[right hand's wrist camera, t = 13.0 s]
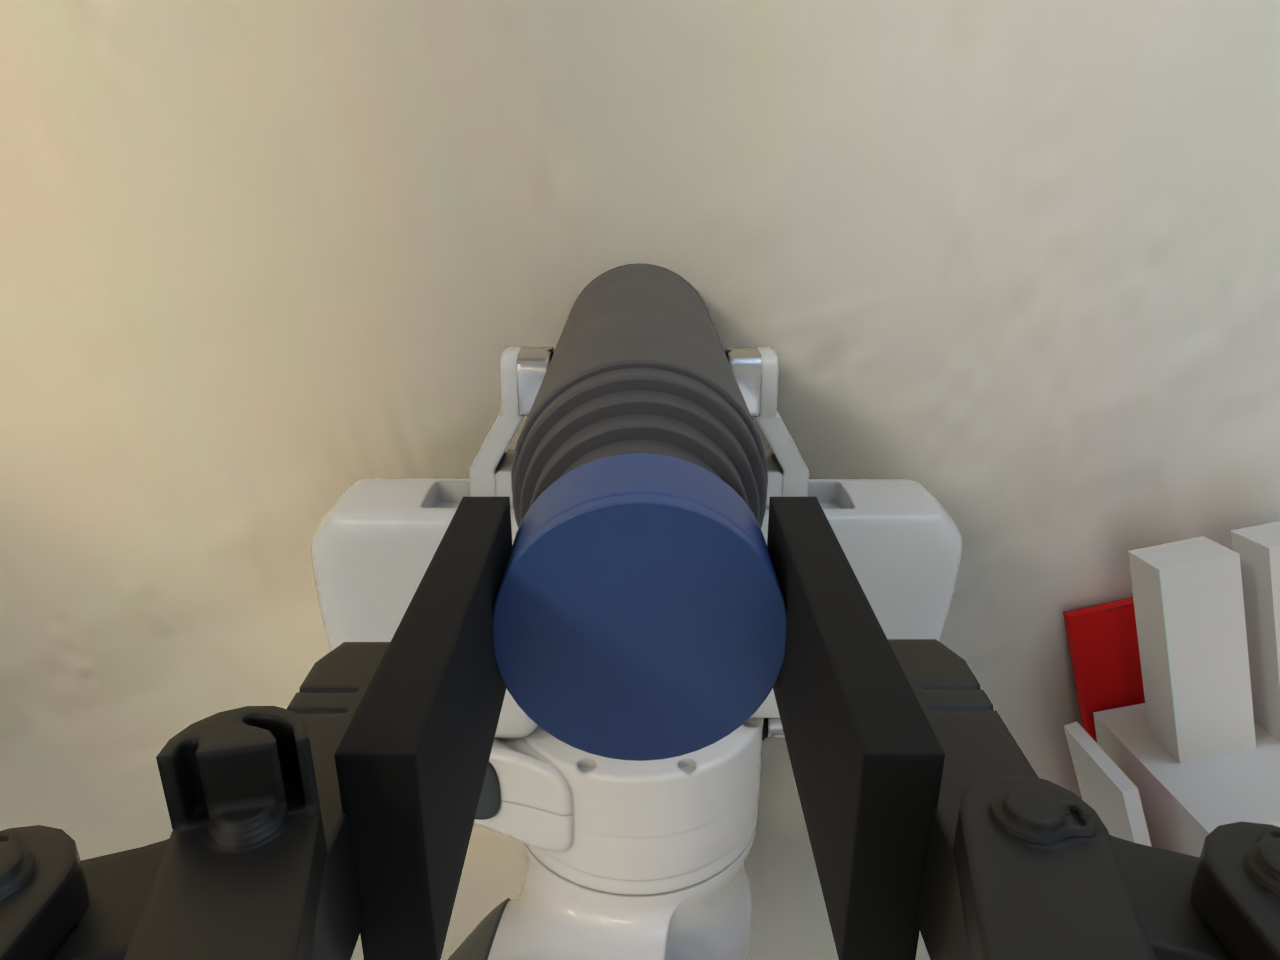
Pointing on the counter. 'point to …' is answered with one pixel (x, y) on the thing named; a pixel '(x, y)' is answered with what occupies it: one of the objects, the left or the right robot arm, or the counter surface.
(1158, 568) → the toy
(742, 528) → the cap
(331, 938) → the right robot arm
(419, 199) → the counter surface
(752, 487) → the bottle
